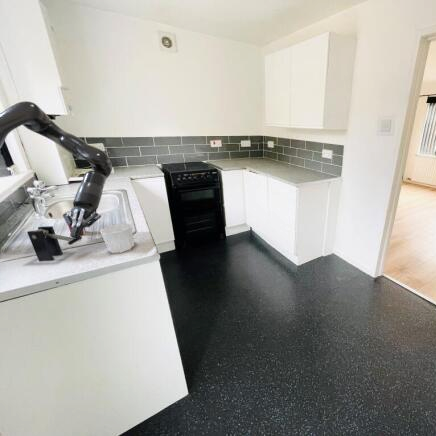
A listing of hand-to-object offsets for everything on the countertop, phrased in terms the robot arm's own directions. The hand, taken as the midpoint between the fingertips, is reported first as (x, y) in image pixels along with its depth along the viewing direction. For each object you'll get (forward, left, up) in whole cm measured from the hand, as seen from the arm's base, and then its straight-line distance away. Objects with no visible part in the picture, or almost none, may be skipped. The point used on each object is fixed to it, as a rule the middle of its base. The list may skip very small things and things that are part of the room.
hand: (74, 237), depth 89 cm
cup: (+11, +6, -9) cm, 16 cm away
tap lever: (-6, 0, -1) cm, 6 cm away
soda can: (-18, +23, -9) cm, 30 cm away
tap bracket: (-11, 0, -9) cm, 14 cm away
